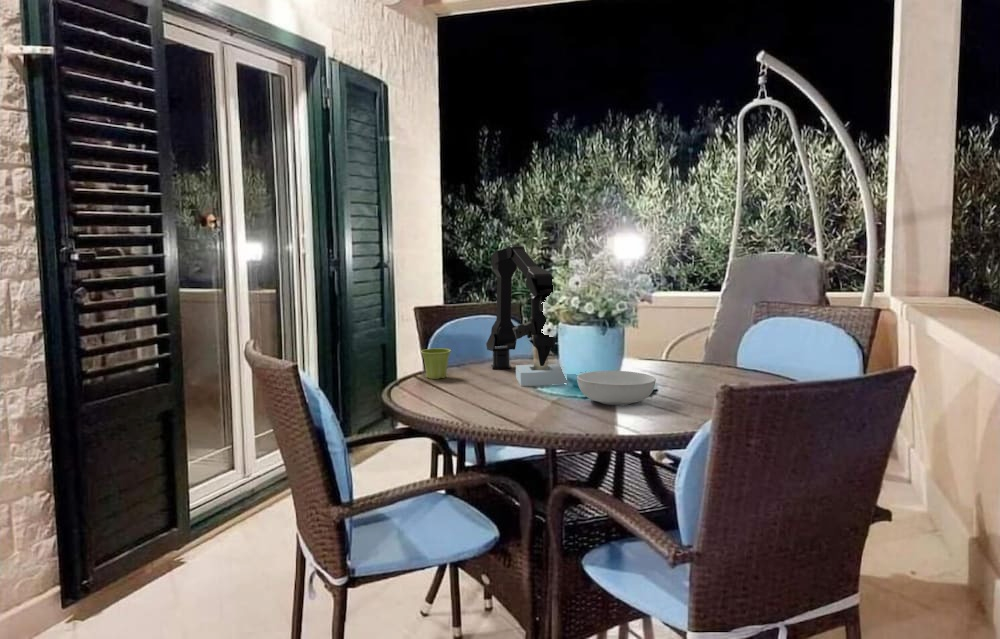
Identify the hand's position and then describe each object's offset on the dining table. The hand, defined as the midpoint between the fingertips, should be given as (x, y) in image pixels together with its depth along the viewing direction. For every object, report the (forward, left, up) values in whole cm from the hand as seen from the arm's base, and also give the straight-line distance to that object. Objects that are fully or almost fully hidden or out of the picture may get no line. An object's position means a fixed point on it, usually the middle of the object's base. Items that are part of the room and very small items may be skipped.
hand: (540, 364), depth 244 cm
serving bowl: (+32, +16, -6) cm, 36 cm away
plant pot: (-11, -32, -5) cm, 34 cm away
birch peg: (0, 0, -2) cm, 2 cm away
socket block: (0, 0, -5) cm, 5 cm away
